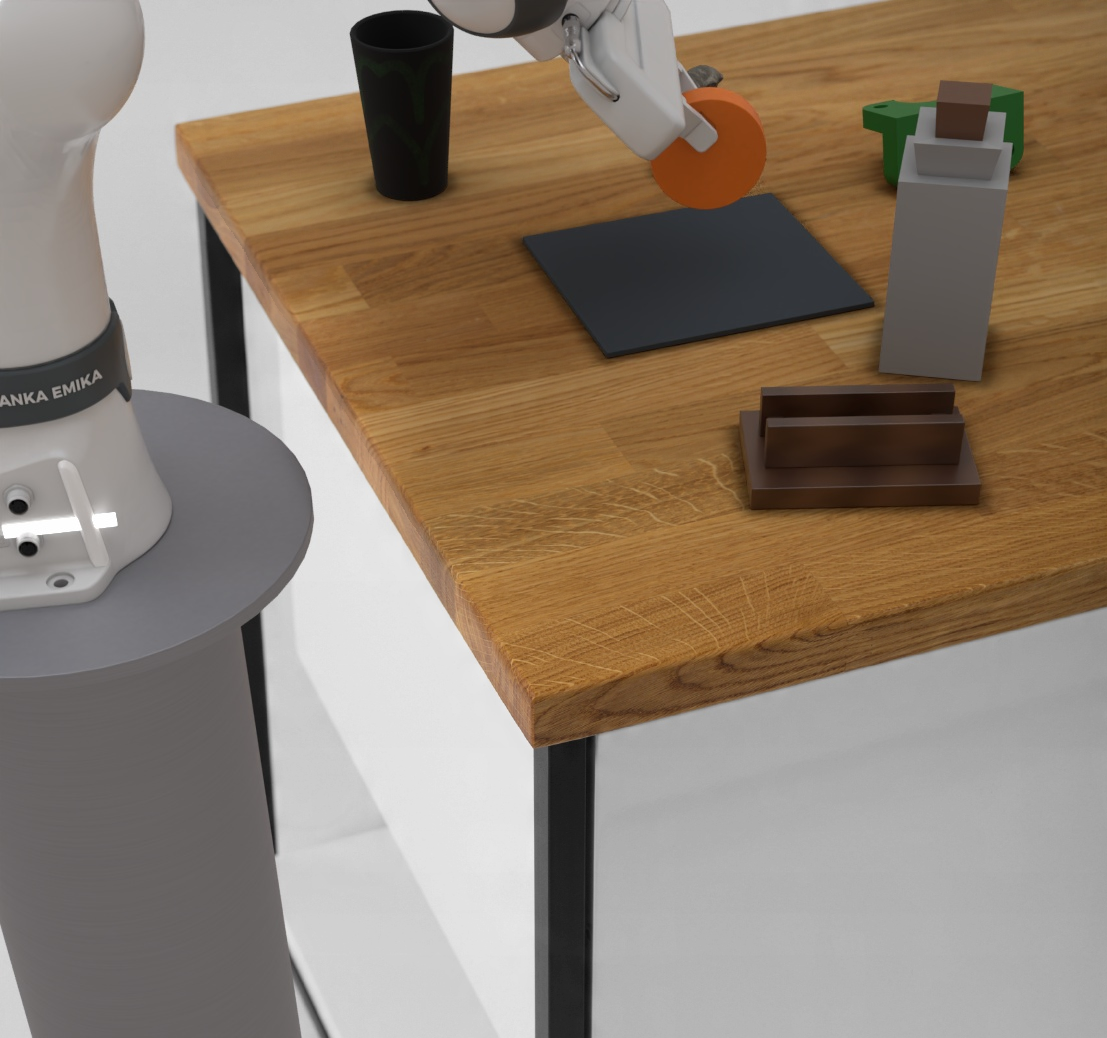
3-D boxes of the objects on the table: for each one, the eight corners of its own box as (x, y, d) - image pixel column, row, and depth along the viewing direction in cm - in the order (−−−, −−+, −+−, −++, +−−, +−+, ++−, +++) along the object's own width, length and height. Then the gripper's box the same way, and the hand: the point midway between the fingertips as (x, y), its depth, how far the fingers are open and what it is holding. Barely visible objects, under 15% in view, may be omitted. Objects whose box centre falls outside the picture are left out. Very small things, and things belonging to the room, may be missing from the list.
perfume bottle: (985, 331, 142) (1022, 74, 129) (980, 381, 137) (1017, 119, 125) (887, 322, 143) (914, 66, 131) (878, 372, 138) (905, 111, 126)
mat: (607, 358, 140) (607, 353, 140) (522, 241, 152) (522, 236, 152) (874, 306, 144) (874, 301, 144) (770, 197, 157) (771, 192, 157)
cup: (477, 172, 161) (471, 18, 153) (433, 213, 156) (425, 57, 148) (390, 155, 163) (379, 3, 155) (344, 196, 158) (330, 41, 150)
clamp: (960, 203, 165) (997, 86, 162) (1002, 216, 160) (1041, 96, 157) (837, 169, 160) (873, 48, 157) (876, 181, 155) (915, 57, 152)
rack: (750, 509, 126) (754, 446, 123) (738, 430, 133) (741, 368, 130) (978, 504, 126) (988, 441, 123) (955, 425, 133) (963, 364, 130)
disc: (642, 204, 144) (659, 93, 138) (641, 191, 145) (657, 80, 140) (755, 215, 145) (776, 105, 139) (753, 202, 146) (773, 92, 141)
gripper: (602, 19, 126) (755, 167, 132) (593, -101, 140) (731, 38, 147) (531, 92, 129) (684, 233, 135) (529, -33, 143) (667, 100, 150)
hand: (708, 130), depth 141 cm, fingers closed on disc, 2 cm apart
